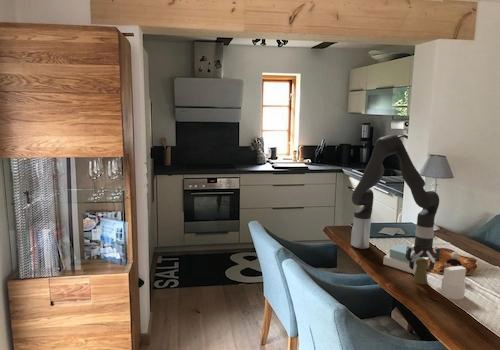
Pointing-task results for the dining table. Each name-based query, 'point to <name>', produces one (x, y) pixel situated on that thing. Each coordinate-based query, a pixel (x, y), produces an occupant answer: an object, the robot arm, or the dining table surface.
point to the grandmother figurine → (453, 260)
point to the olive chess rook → (421, 271)
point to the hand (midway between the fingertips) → (421, 269)
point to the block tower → (400, 259)
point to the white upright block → (453, 282)
